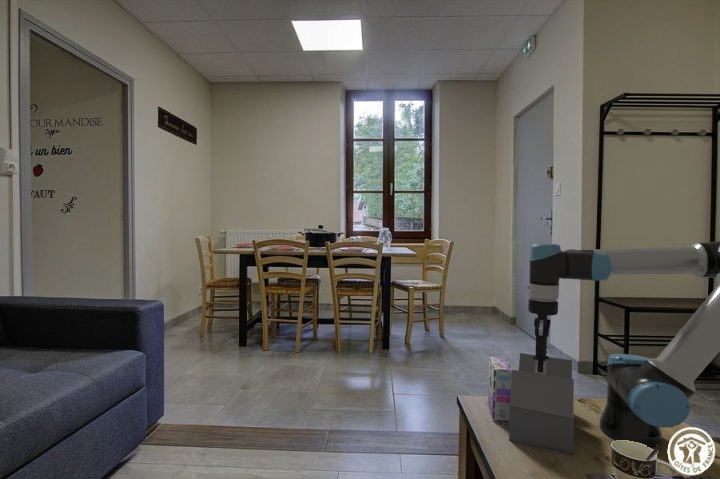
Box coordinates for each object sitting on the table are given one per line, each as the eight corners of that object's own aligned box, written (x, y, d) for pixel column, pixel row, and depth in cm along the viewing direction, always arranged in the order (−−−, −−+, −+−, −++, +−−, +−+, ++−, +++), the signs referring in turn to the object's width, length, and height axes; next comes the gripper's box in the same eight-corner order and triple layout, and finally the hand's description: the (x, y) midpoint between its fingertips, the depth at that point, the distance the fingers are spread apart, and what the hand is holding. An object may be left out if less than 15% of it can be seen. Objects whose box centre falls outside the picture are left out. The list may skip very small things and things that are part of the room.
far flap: (571, 391, 123) (571, 391, 124) (572, 360, 128) (572, 360, 128) (517, 382, 130) (517, 382, 131) (520, 353, 135) (520, 353, 135)
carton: (571, 423, 123) (572, 391, 123) (573, 455, 105) (574, 418, 105) (516, 412, 131) (517, 381, 130) (509, 440, 113) (509, 405, 113)
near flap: (573, 379, 108) (573, 379, 107) (573, 418, 105) (573, 418, 105) (512, 369, 115) (512, 369, 114) (510, 405, 112) (510, 405, 112)
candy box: (512, 423, 123) (513, 370, 122) (492, 421, 124) (493, 369, 124) (505, 404, 136) (506, 356, 136) (487, 402, 137) (488, 355, 137)
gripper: (530, 294, 118) (527, 372, 119) (526, 301, 107) (523, 387, 108) (559, 296, 115) (555, 377, 116) (557, 304, 103) (553, 393, 105)
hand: (540, 382), depth 112 cm, fingers closed
